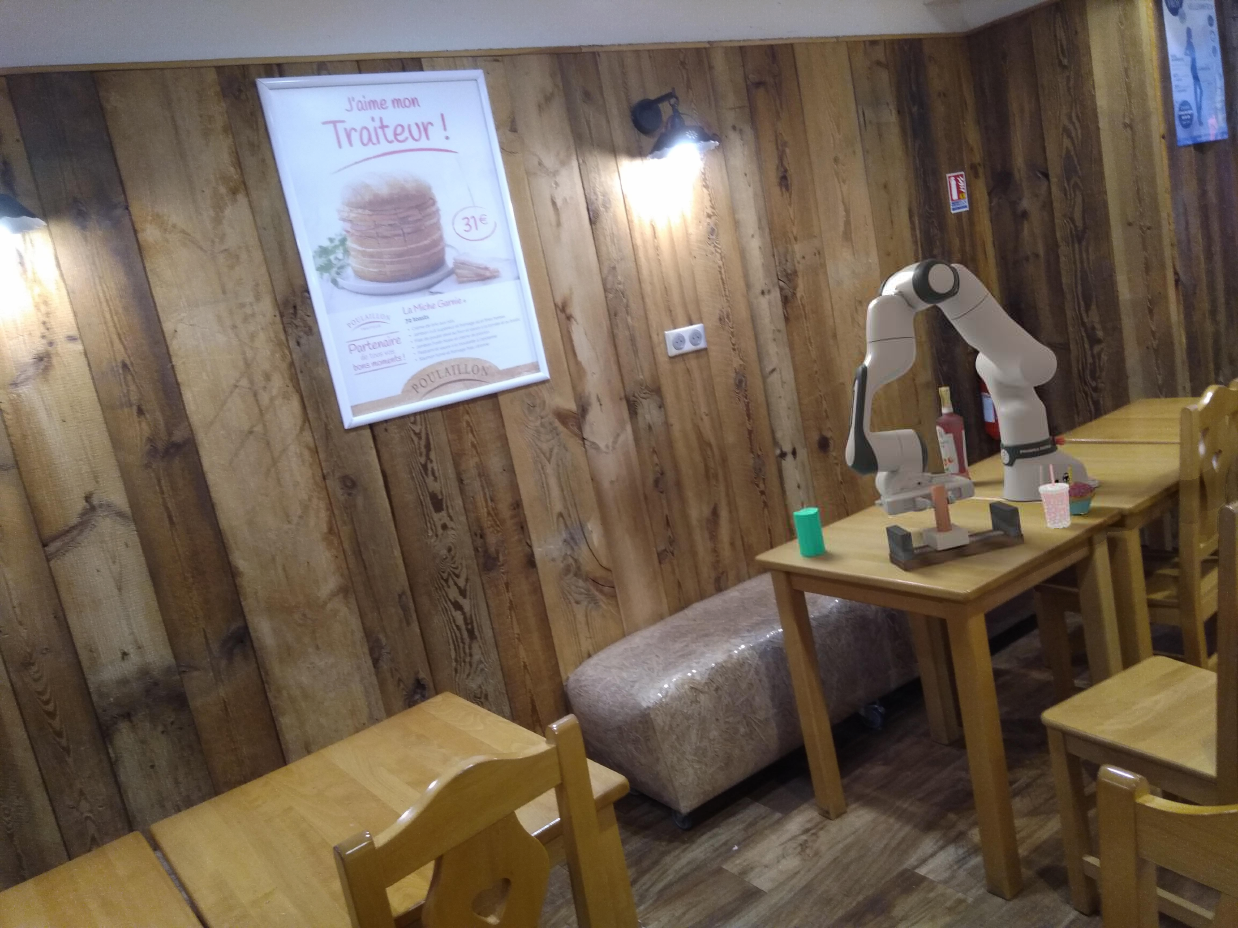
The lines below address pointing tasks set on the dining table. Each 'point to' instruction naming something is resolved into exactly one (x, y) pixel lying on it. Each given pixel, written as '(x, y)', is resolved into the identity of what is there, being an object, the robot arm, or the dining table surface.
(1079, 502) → the cupcake
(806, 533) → the candle
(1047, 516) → the beverage cup
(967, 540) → the peach cylinder post
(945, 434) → the liquor
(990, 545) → the rail
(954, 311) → the robot arm
